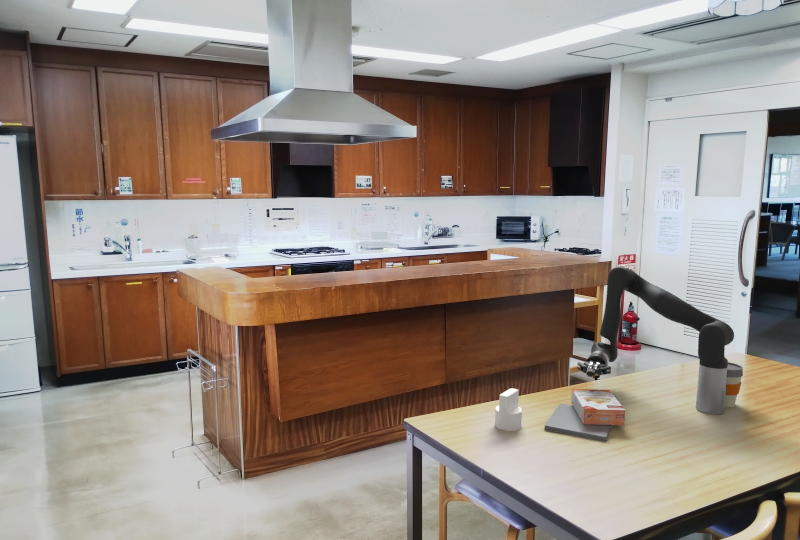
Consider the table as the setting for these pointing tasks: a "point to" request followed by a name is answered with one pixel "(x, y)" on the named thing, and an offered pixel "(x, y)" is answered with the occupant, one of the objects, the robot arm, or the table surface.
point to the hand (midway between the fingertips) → (589, 374)
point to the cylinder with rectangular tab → (508, 411)
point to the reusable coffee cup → (733, 383)
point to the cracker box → (597, 407)
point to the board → (575, 424)
